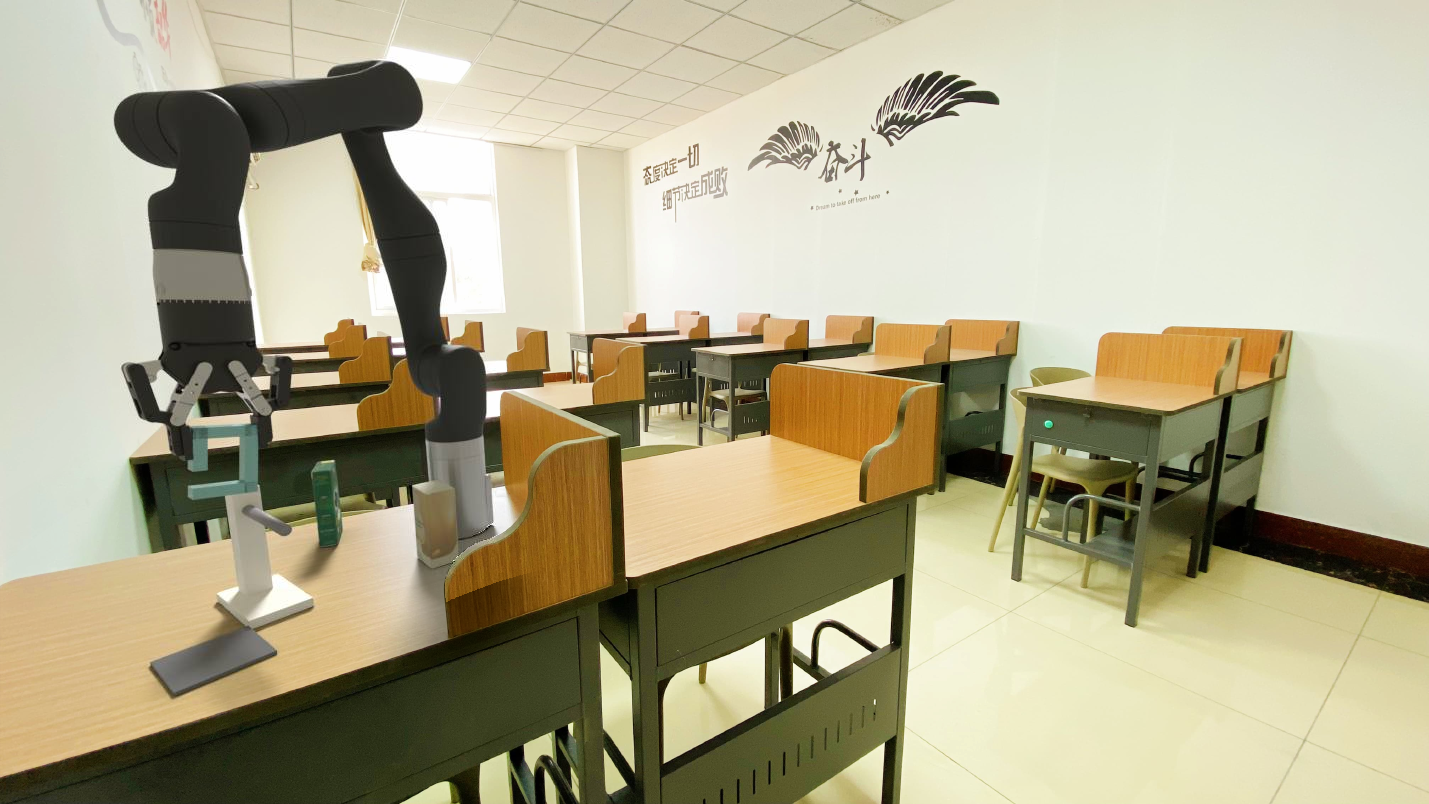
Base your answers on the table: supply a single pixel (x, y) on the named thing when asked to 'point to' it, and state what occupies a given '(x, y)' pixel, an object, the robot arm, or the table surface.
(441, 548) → the skincare box
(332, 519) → the coffee box
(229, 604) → the stand
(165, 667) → the pad
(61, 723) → the table surface
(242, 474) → the c link
